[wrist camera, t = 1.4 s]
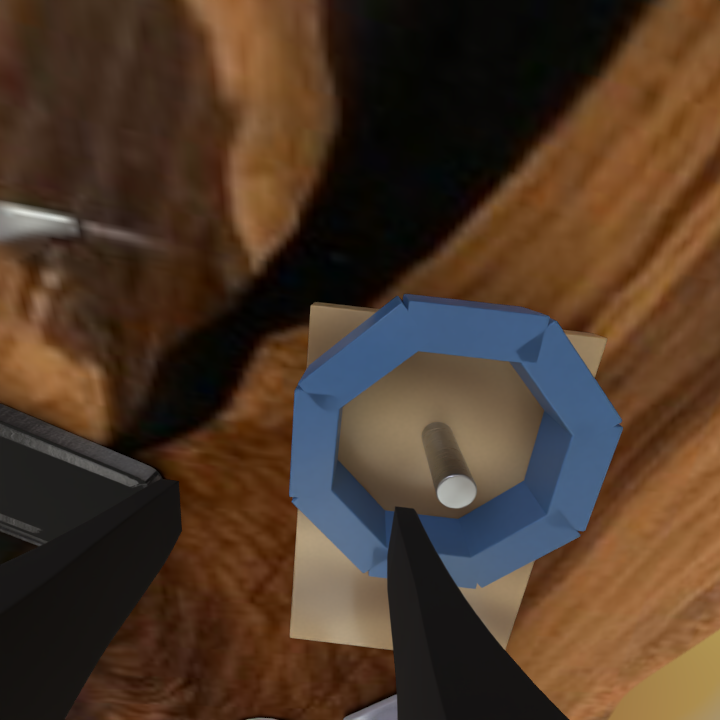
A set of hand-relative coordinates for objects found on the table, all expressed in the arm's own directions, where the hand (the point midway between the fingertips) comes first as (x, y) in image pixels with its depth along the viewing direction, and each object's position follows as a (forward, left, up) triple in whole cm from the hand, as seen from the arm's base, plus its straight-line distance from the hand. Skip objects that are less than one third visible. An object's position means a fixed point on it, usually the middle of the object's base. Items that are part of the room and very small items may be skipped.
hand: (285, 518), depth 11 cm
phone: (+7, +17, -8) cm, 20 cm away
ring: (-4, -5, -7) cm, 9 cm away
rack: (-8, -1, -8) cm, 11 cm away
